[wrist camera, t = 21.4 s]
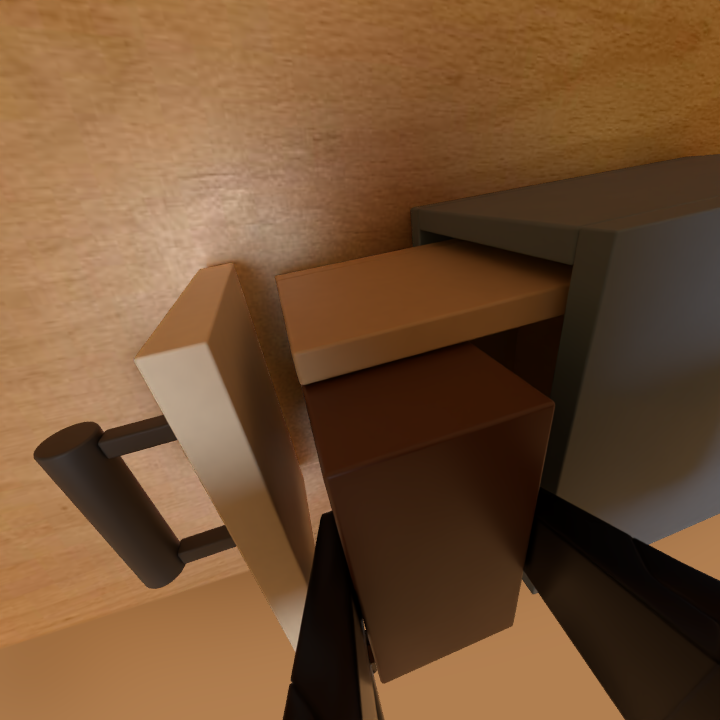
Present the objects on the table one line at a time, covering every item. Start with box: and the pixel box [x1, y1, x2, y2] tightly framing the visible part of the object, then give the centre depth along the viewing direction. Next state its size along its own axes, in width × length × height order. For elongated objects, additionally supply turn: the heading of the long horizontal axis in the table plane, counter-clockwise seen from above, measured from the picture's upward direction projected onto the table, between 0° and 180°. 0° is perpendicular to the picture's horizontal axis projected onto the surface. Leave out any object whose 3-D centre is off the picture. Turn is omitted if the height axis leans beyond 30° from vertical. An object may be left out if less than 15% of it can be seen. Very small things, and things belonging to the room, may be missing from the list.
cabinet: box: [411, 154, 720, 594], centre depth 14 cm, size 15×13×9 cm
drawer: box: [34, 238, 573, 652], centre depth 12 cm, size 18×11×7 cm, turn 98°
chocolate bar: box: [301, 341, 555, 683], centre depth 9 cm, size 4×8×4 cm, turn 8°
